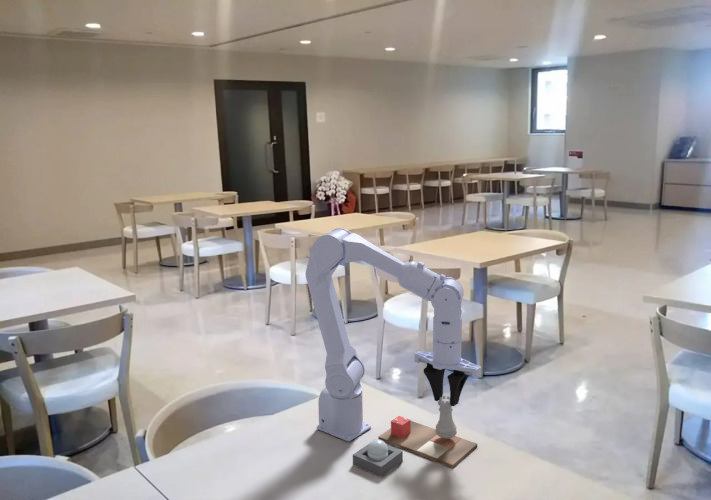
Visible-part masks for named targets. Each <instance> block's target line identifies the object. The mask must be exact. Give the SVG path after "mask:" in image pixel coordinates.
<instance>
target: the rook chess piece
mask: <svg viewBox="0 0 711 500" xmlns="http://www.w3.org/2000/svg"><path fill="white" fill-rule="evenodd" d="M437 405H438V406H439V408H438V411H439V419H438V421H437V424H435V429H436V431H435V432H436V434H437V435H438V436H439V437H441V438H445V439H449V438H452V437H454V436H456V435H457V426H456V423H455V422H454V419H453V415H452V414H453V413H452V412H453V408H452V407H453V406H451V404H450V395H449V396H448V395H447V397H446V395H443V396H442V397H440V399H439V400H438V401H437Z"/></svg>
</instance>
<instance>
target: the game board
mask: <svg viewBox="0 0 711 500" xmlns="http://www.w3.org/2000/svg"><path fill="white" fill-rule="evenodd" d="M435 431H436V428H433V427H431V426H428V425H424V424H421V423H418V422H417V421H416V422H415V421H413V420H411V433H409V434H408V435H406V436H405V437H404V438H401V437H398V436H395V435H392V434H391V427H390V428H389V429H388V430H386V431H385V432H383V433H381V434H379V435H378V438H377V439H379V440H382V441H384V442H385V443H386V444H387V443H388V444H390V445H392V446H396V447H398V448H400V449H403V450H406V451H408V452H411V453H414V454H417V455H419V456H421V457H424V458H427V459H429V460H431V461H434V462H437V463H439V464H442V465H445V466H447V467H449V468H452V469H453V468H454V467H455V466H457V465H458V464H459V463H460V462H462V461H463V460H464V459H465V458H466V457H467V456H468V455H469V454H471V453H472V452H473V451H474V450H476V449H477V447H478V443H476V442H474V441H471V440H467V439H464V438H463V437H460V436H456V435H455V436H454V437H452V438H449V439H445V438H441V437H439V436H438V435H437V434H436V432H435Z"/></svg>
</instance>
